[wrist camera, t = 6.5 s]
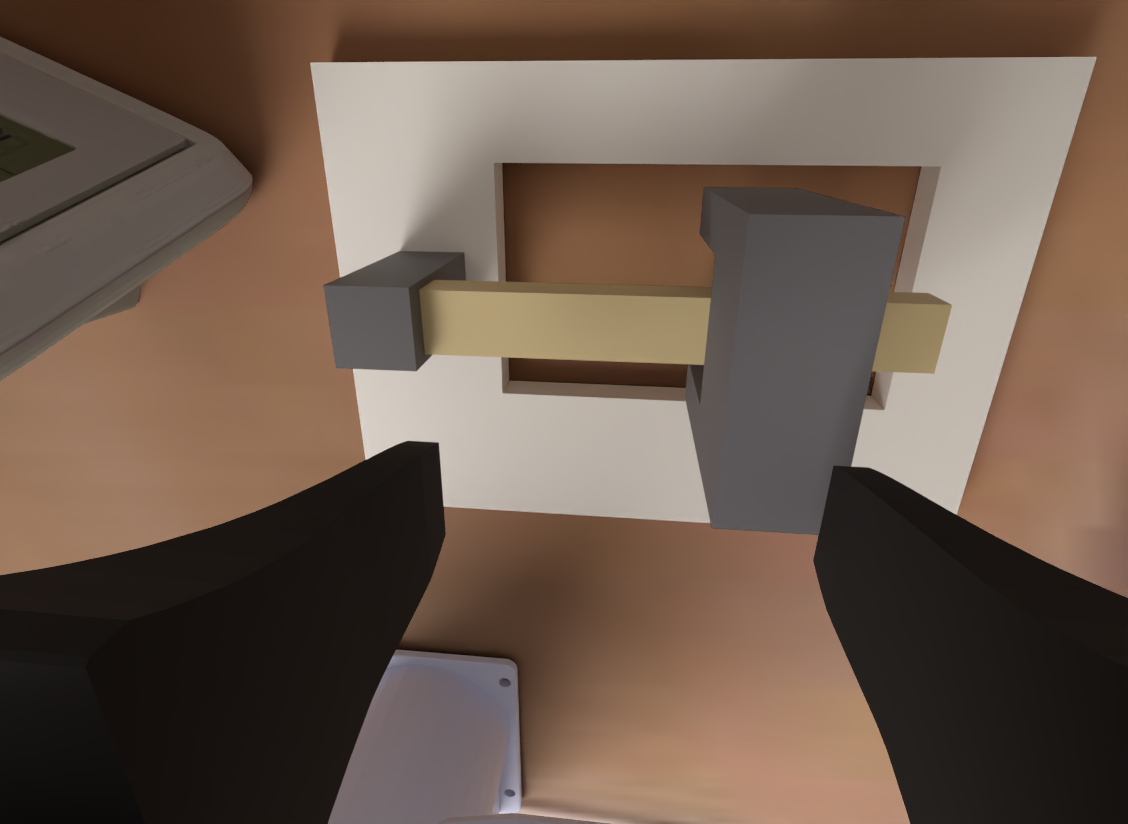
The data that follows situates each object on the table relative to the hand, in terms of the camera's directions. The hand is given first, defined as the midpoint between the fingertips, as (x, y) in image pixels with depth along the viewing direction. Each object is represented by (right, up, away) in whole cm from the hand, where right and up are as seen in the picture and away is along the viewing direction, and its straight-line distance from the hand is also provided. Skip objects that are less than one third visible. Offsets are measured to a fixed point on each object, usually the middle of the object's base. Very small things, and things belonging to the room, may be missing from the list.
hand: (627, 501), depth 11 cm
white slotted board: (+2, +5, +8) cm, 10 cm away
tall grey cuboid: (+4, +5, +6) cm, 8 cm away
